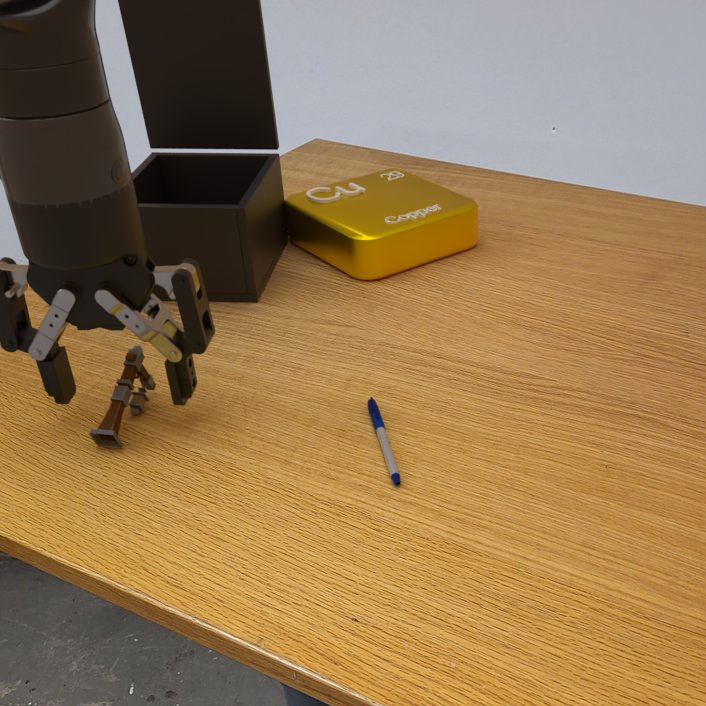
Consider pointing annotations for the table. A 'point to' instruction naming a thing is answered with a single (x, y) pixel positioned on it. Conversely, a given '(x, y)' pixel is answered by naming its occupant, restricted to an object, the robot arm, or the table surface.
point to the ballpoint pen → (384, 441)
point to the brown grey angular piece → (124, 399)
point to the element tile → (381, 223)
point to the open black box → (214, 218)
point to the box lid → (201, 73)
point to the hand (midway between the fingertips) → (124, 399)
